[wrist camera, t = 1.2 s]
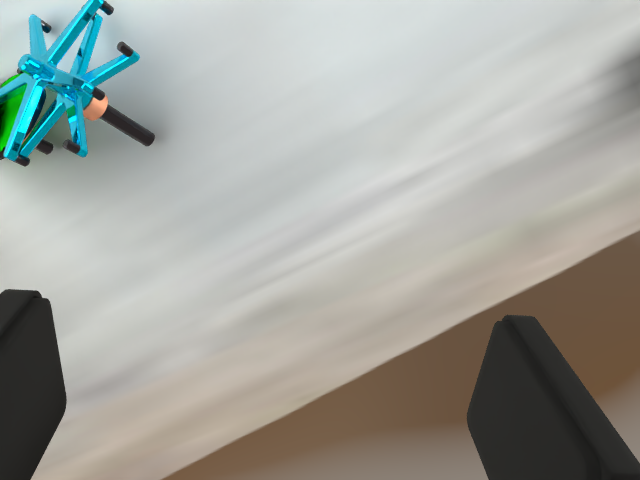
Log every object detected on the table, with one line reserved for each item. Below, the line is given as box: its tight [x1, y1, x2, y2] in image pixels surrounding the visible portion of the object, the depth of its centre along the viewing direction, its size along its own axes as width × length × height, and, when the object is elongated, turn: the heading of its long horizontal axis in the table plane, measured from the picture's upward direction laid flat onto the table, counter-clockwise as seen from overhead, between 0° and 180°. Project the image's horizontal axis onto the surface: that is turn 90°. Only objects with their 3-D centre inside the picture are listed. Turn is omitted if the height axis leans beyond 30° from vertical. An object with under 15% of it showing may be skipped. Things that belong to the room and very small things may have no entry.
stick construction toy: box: [0, 0, 155, 166], centre depth 25 cm, size 12×7×8 cm
